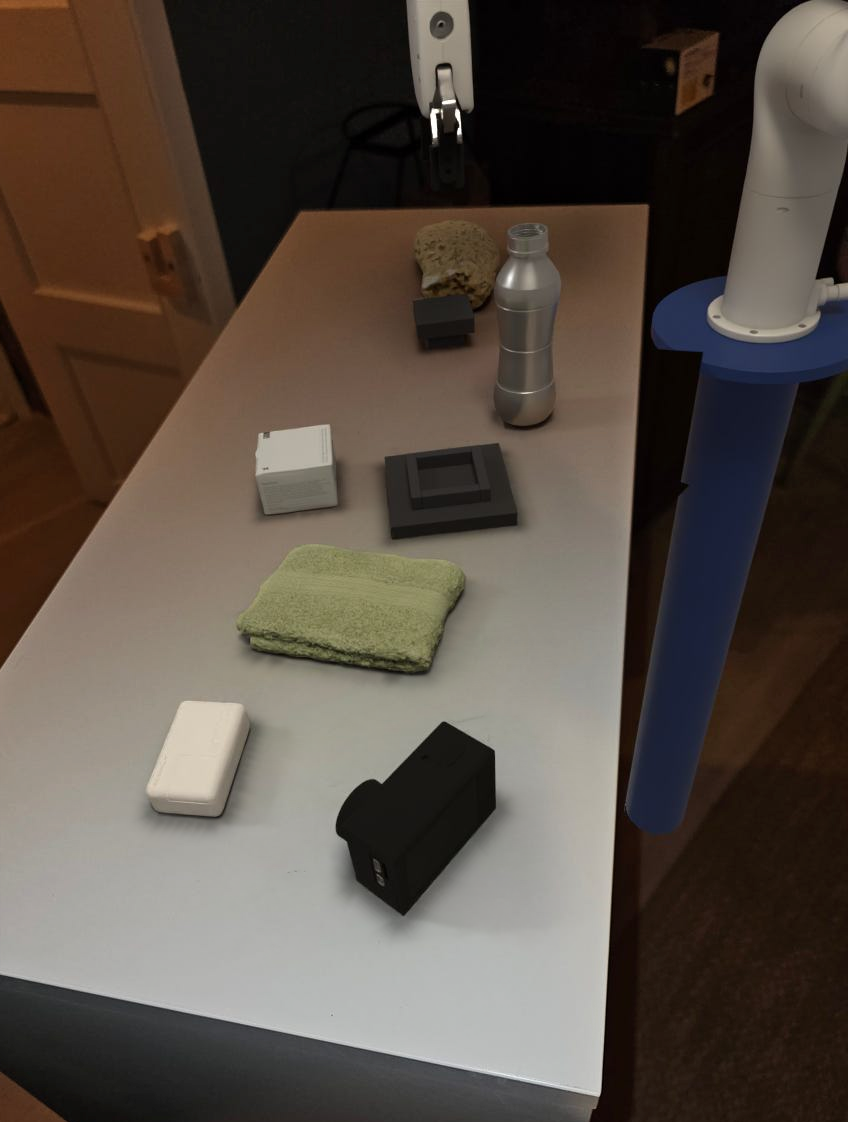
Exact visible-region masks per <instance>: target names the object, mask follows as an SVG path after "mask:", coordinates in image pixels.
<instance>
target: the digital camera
mask: <svg viewBox="0 0 848 1122" xmlns="http://www.w3.org/2000/svg"><path fill="white" fill-rule="evenodd" d="M496 778H497V777H496V750H494V748H492V747H490V746H488V745H487V744H485V743H483V742H482V741H480V740H479V739H477V738H475V737H473V736H471V735H470V734H468V733H466V732H464V731H463V730H461V729H459V728H458V727H456V726H454V725H452V724H450V723H449V722H447V721H445V720H444V721H441V722H440V723H439V724H438V725H437V726H436V727H435V728H434V729H433V730H432V732H430V733H429V734H428V735H427V737H425V739H424V740H422V742H421V743H420V744H419V745H418V746H417V747H416V748H415V749H414V750H413V751H412V752H410V754H409V755H408V756H407V757H406V758H405V759H404V760H403V761H402V762H401V763H400V764H399V765H398V767H396V769H395V770H393V772H391V774H390V775H389V776H387V778H386V779H385V780H383V782H381V781H379V780H377V779H375V778H370V779H366V780H364V781H363V782H361V783H360V784H358V785H357V786H356V787H355V788H354V789H353V790H352V791H351V792H350V793H349V795H348V796H347V797H346V798H345V800H344V802H343V803H342V805H341V806H340V809H339V811H338V814H337V816H336V820H335V833H336V835H337V836H338V837H339V838H341V839H342V840H343V841H345V842H346V845H347V848H348V853H349V856H350V860H351V861H350V862H351V865H352V868H353V873H354V876H355V880H356V881H357V883H359V884H361V886H363V887H365V889H367V890H368V891H370V892H371V893H373V894H374V895H375V896H376V897H378V898H379V899H380V900H382V901H383V902H385V904H387V905H388V906H390V907H391V908H392V909H393V910H394V911H396V912H397V913H399V914H400V915H402V917H403V916H405V915H406V914H407V913H408V912H409V910H410V909H411V908H412V907H413V906H414V905H415V904H416V902H417V901H418V900H419V899H420V898H421V896H422V895H423V894H424V893H425V892H426V891H427V889H428V888H429V887H430V886H431V885H432V884H433V883H434V881H436V879H437V878H438V877H439V875H440V874H441V873H442V872H443V871H444V870H445V869H446V867H447V866H448V865H449V864H450V863H451V862H452V860H453V859H454V858H455V857H456V856H457V855H458V853H459V852H460V851H461V850H462V849H463V847H464V846H465V845H466V844H467V843H468V842H469V840H470V839H471V838H472V837H473V836H474V834H475V833H476V832H477V831H478V830H479V829H480V828H481V826H482V825H483V824H484V823H485V822H486V821H487V820H488V818H489V817H490V816H491V815H492V814H493V812H494V811H495V810H496V809H497V788H496V787H497V784H496V783H497V779H496Z"/></svg>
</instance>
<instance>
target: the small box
mask: <svg viewBox="0 0 848 1122" xmlns="http://www.w3.org/2000/svg"><path fill="white" fill-rule="evenodd" d="M256 446H257V447H256V450H255V452H254V456H255V459H256V460H255V461H256V462H255V474H254V477H255V480H256V485H257V489H258V492H259V497H260V500H261V505H262V508H263V513H264V514H265V515H277V514H286V513H293V512H301V511H309V510H314V509H316V510H317V509H325V508H332V507H333V508H334V507H337V506H338V505H339V500H338V499H339V498H338V481H337V479H338V478H337V459H336V455H335V454H336V453H335V447H334V441H333V436H332V429H331V425H330V424H329V423H328V424H318V425H310V426H304V427H296V428H288V429H281V430H272V431H264V432H259V433H258V435H257V445H256Z"/></svg>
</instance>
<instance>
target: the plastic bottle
mask: <svg viewBox="0 0 848 1122" xmlns="http://www.w3.org/2000/svg"><path fill="white" fill-rule="evenodd" d="M549 248H550V243H549V230H548V227H547V226H546V225H544V224H542V223H536V222H525V223H519V224H516V225H514V226H511V227H510V228H509V229H508V230H507V245H506V253H507V254H508V255H509V257H508V258H507V260H506V261H505V263H504V264H503V266H502V267H501V268H500V271H499V272H498V274H497V276H496V277H495V284H494V288H493V297H494V303H495V310H496V318H497V326H498V339H499V342H498V343H499V344H498V345H499V355H498V365H497V375H496V380H495V383H494V389H493V390H494V391H493V397H492V399H493V404H494V409H495V412H496V414H497V415H498V417H499V418H500V419H501V420H502V422H505V423H506V424H509V425H513V426H517V427H518V426H519V427H526V426H533V425H537V424H540V423H542V422H544V421H545V420H546V419H547V418H548V417H549V416H550V415H551V414H552V412H553V410H554V408H555V403H556V399H557V387H556V380H555V376H554V358H553V357H554V356H553V344H554V335H555V325H556V319H557V314H558V308H559V303H560V298H561V293H562V287H563V286H562V285H563V283H562V279H561V275H560V272H559V270H558V268H556V266H555V264H554V263H553V262H552V260H551V259H550V258H549V256H548V255H547V252H548V251H549Z"/></svg>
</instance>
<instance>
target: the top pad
mask: <svg viewBox="0 0 848 1122" xmlns="http://www.w3.org/2000/svg"><path fill="white" fill-rule="evenodd" d="M412 308H413V318H414V323H415V329H416V335H417V340H418V341H423V340H426V341H425V342H426V344H427V350H437V349H443V348H445V349H446V348H451V347H453V348H454V347H460V346H465V335H470V334H471V335H472V334H476V325H475V324H476V323H475V320H476V319H475V315H474V310H472V307H471V304H470V300H469V297H468V293H465V294H457V295H450V296H442V297H435V298H427V299H426V298H419V299H414V300H412Z"/></svg>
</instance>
